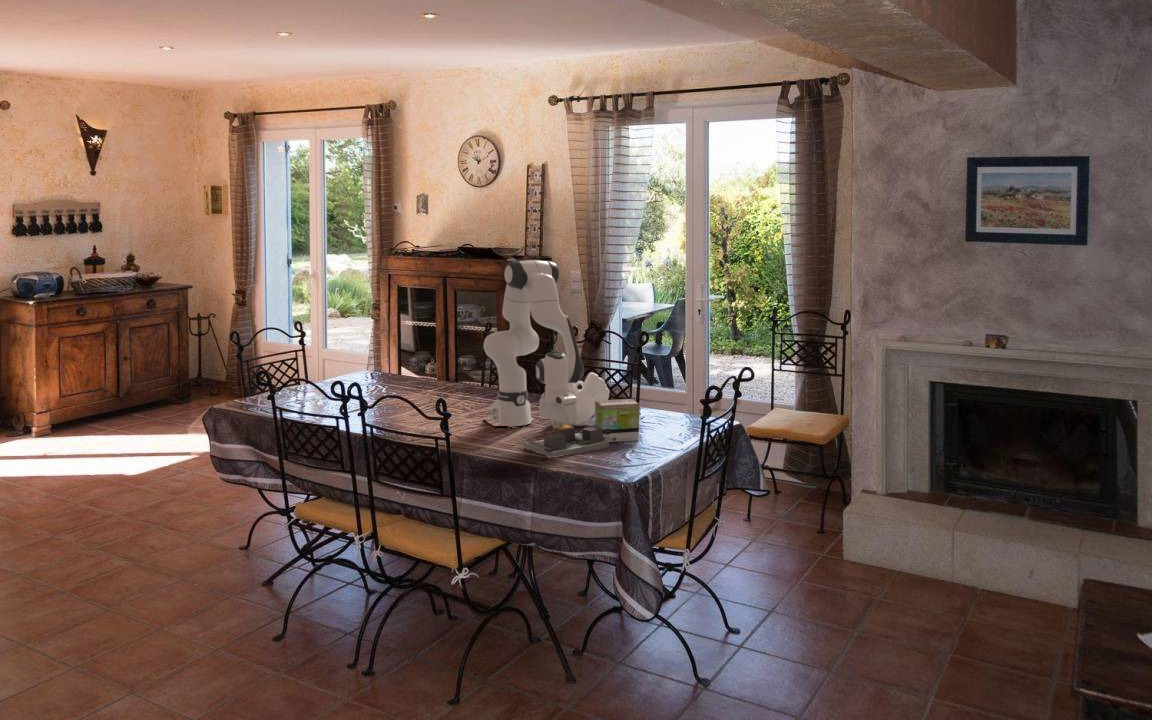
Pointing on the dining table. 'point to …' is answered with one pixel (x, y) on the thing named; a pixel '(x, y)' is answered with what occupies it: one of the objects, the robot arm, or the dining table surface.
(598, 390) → the decorative rooster
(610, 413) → the tea box
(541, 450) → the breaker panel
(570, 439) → the block
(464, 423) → the dining table surface
